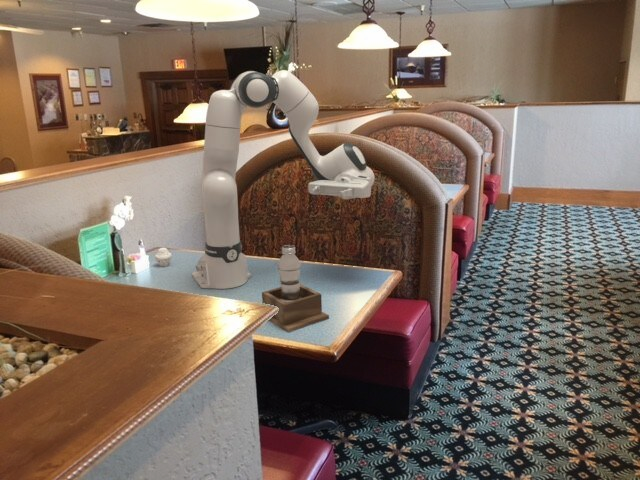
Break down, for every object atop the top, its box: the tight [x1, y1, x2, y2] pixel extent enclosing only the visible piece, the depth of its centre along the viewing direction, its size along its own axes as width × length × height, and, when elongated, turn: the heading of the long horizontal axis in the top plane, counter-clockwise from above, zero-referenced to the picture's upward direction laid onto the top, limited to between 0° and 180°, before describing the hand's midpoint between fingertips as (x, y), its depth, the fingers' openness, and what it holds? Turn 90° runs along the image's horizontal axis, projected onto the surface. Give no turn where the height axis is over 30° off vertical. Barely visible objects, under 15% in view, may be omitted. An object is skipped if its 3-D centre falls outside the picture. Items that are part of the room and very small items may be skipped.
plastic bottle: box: [277, 244, 302, 303], centre depth 156 cm, size 6×7×20 cm
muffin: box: [154, 247, 173, 267], centre depth 206 cm, size 6×6×7 cm
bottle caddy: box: [261, 283, 330, 333], centre depth 158 cm, size 17×14×7 cm
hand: (327, 193), depth 169 cm, fingers open, 8 cm apart
